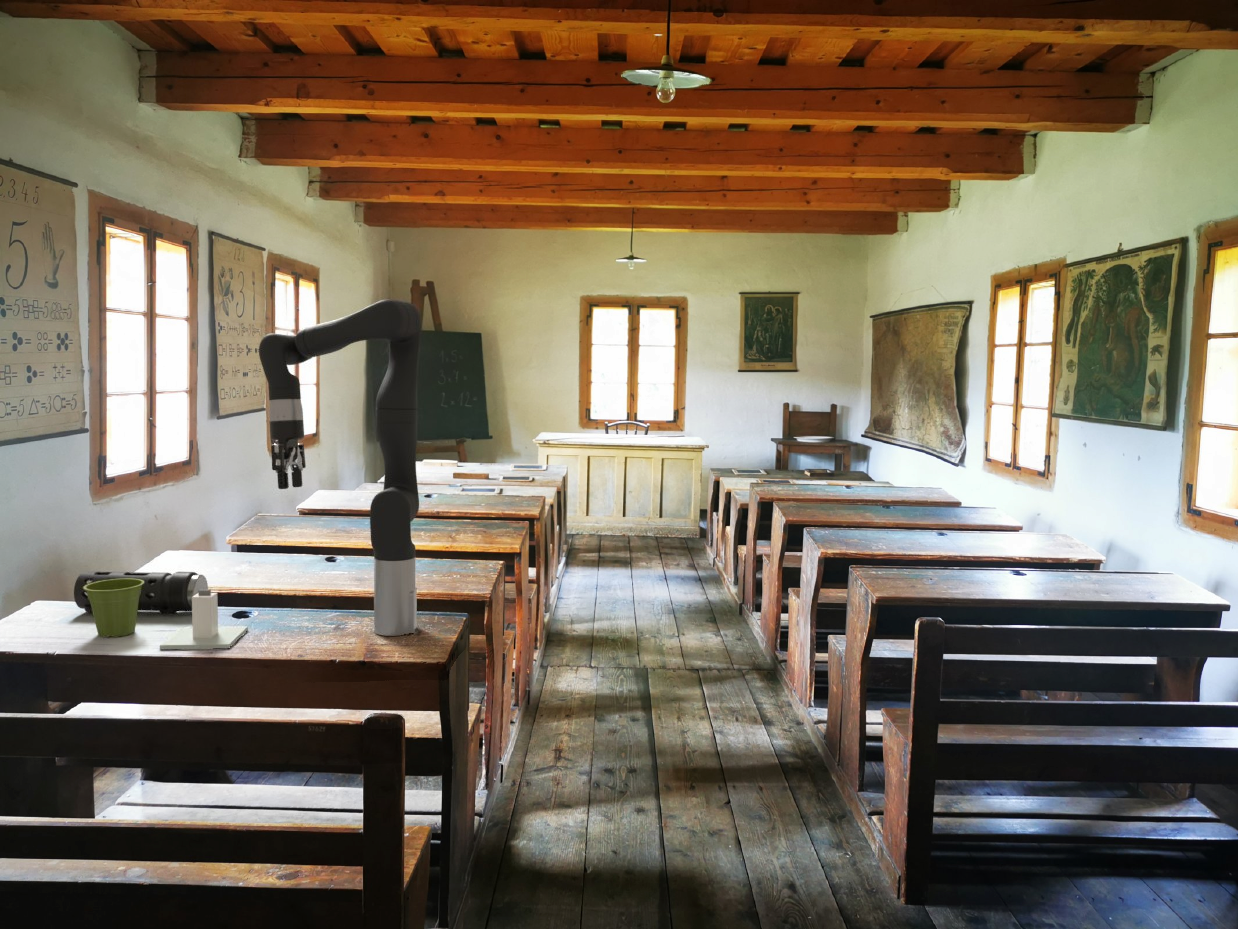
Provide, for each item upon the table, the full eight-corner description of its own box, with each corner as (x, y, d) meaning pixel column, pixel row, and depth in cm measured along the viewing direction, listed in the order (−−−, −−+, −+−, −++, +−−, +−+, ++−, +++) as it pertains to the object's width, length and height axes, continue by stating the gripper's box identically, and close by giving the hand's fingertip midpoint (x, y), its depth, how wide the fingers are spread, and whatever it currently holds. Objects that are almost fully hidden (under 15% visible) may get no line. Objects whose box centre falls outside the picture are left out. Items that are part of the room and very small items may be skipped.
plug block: (218, 632, 200) (217, 587, 199) (212, 637, 196) (211, 592, 195) (199, 632, 199) (198, 587, 198) (192, 637, 195) (191, 592, 194)
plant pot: (111, 624, 208) (110, 576, 207) (157, 628, 206) (156, 579, 205) (72, 639, 196) (70, 588, 195) (120, 643, 194) (118, 591, 193)
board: (248, 630, 205) (247, 626, 205) (229, 648, 192) (229, 644, 191) (183, 631, 204) (183, 627, 204) (159, 649, 190) (159, 645, 190)
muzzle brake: (95, 607, 223) (94, 566, 222) (210, 609, 224) (209, 568, 223) (73, 617, 214) (71, 574, 213) (192, 619, 214) (191, 576, 213)
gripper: (290, 417, 205) (294, 488, 206) (313, 419, 219) (317, 485, 220) (257, 419, 205) (262, 490, 206) (282, 420, 219) (286, 487, 220)
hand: (290, 488), depth 213 cm, fingers open, 8 cm apart
